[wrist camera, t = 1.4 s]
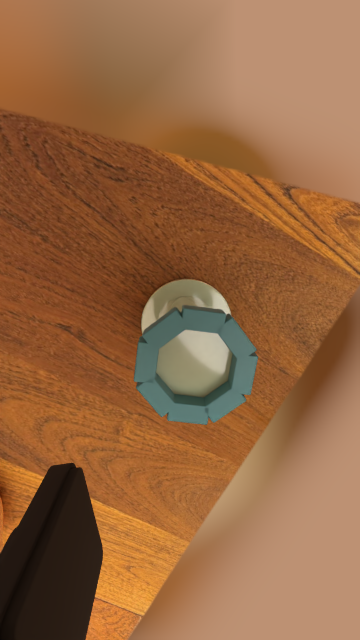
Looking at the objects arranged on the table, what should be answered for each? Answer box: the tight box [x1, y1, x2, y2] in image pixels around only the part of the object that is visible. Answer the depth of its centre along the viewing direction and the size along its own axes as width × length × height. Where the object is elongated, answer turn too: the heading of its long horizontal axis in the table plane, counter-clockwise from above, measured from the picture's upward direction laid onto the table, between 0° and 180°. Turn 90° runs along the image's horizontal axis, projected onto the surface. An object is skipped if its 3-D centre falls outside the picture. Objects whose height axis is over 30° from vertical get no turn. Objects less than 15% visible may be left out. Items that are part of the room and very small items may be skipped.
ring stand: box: [141, 278, 233, 397], centre depth 24 cm, size 8×8×10 cm
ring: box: [134, 305, 258, 425], centre depth 19 cm, size 7×7×1 cm
